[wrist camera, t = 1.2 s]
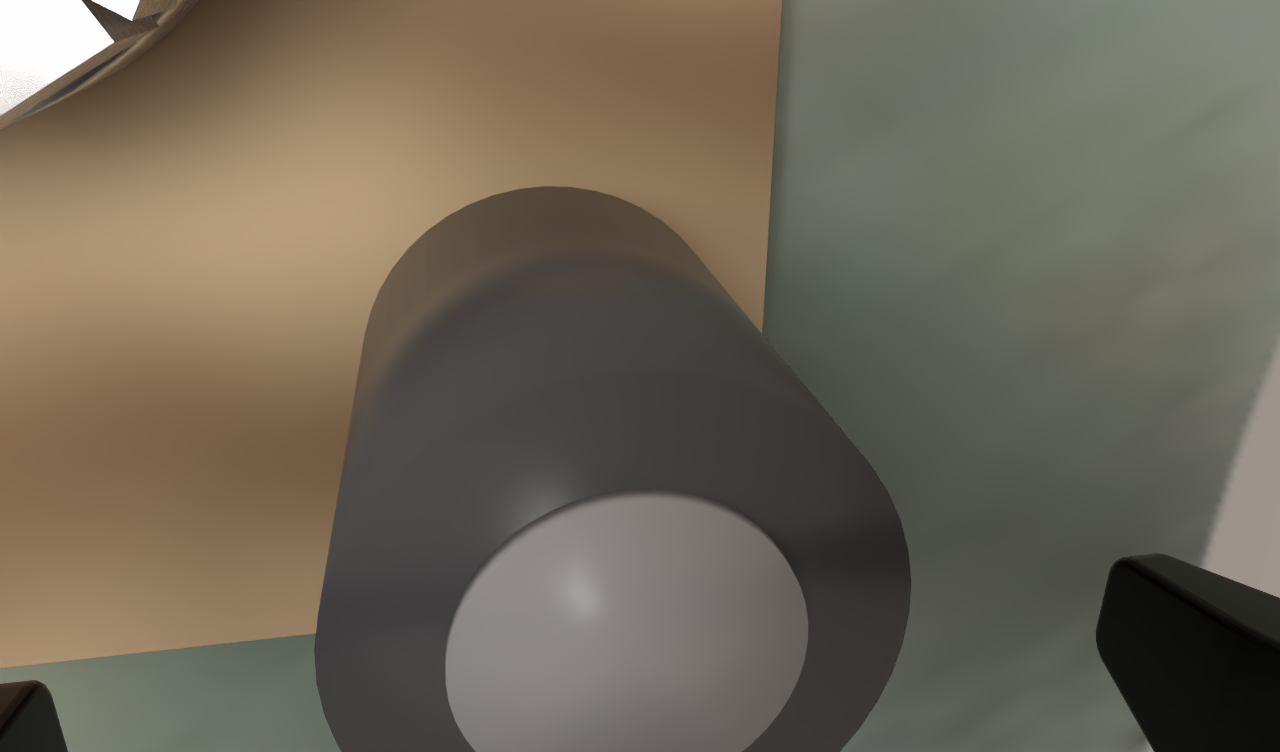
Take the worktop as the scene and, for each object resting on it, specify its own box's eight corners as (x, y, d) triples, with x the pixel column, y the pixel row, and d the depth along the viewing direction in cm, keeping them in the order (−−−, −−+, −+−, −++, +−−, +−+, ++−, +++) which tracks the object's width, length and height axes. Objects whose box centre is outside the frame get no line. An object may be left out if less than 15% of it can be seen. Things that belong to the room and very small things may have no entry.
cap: (720, 507, 15) (888, 839, 10) (380, 539, 14) (349, 925, 9) (735, 179, 13) (957, 357, 8) (341, 193, 12) (268, 407, 7)
